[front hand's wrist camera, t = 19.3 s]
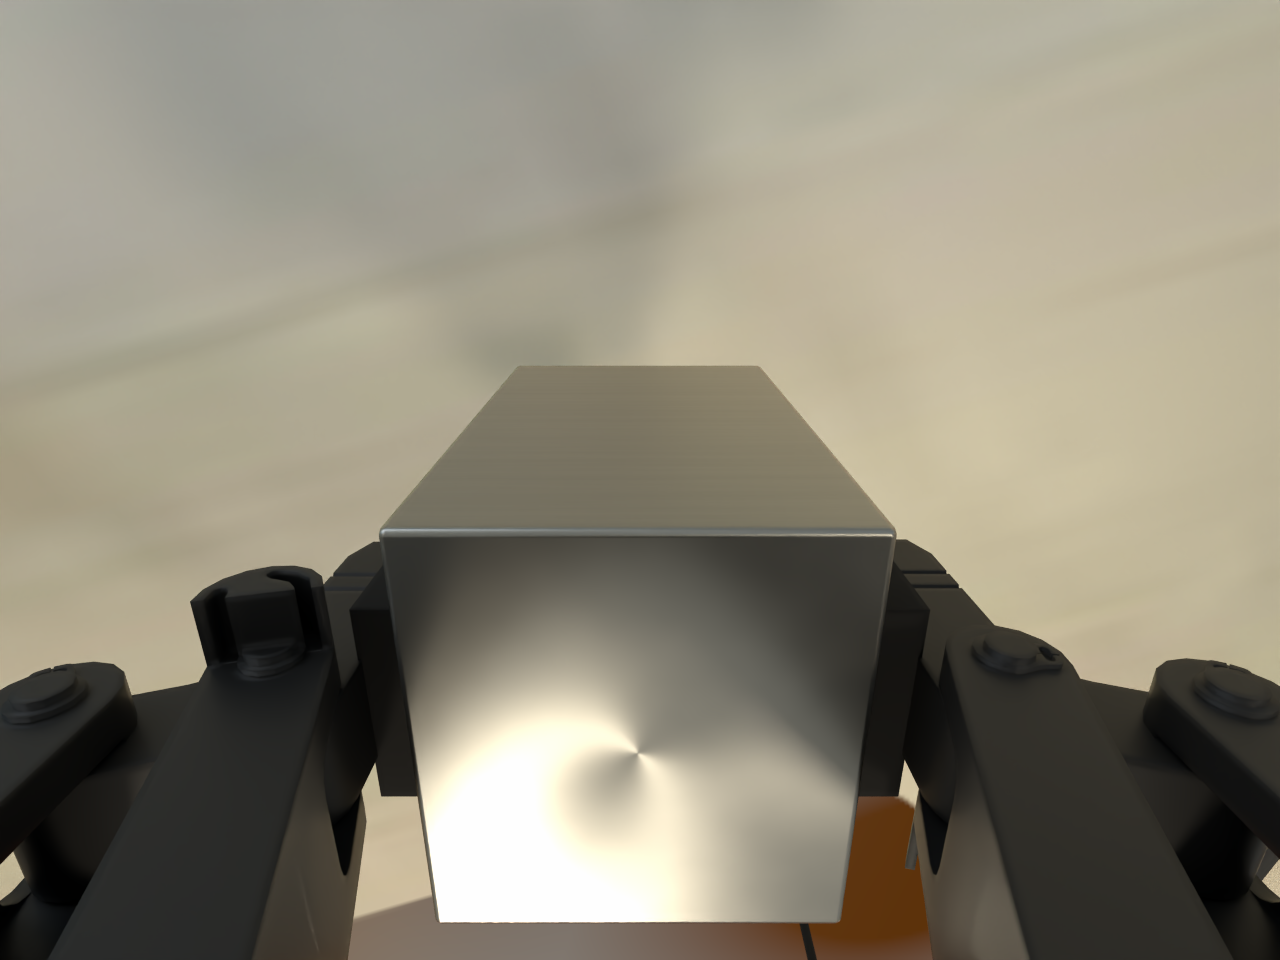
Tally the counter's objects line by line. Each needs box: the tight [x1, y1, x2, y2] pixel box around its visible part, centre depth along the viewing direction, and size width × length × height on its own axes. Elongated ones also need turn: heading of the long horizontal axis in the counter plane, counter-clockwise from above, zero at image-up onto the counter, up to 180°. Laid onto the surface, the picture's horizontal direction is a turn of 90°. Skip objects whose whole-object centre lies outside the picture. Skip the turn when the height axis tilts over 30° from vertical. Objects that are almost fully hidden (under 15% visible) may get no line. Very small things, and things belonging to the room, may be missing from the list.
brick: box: [379, 366, 897, 923], centre depth 11 cm, size 5×5×8 cm
